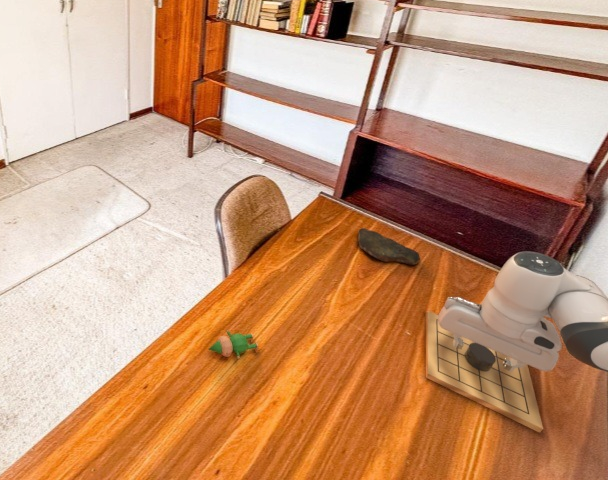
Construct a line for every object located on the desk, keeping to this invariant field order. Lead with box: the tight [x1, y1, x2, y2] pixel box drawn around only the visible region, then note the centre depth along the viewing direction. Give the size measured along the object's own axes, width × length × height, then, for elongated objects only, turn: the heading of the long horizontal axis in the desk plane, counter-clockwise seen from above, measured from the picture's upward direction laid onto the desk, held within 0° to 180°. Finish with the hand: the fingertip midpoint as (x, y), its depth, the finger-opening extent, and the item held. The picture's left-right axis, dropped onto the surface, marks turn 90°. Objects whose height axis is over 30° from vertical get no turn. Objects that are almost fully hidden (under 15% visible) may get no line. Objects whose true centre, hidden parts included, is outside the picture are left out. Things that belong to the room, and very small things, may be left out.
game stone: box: [464, 343, 496, 372], centre depth 92 cm, size 5×5×3 cm
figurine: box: [208, 329, 259, 360], centre depth 93 cm, size 4×7×12 cm
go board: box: [425, 310, 544, 434], centre depth 93 cm, size 20×20×2 cm
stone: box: [357, 227, 421, 266], centre depth 124 cm, size 18×11×3 cm, turn 49°
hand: (481, 356), depth 92 cm, fingers open, 8 cm apart
